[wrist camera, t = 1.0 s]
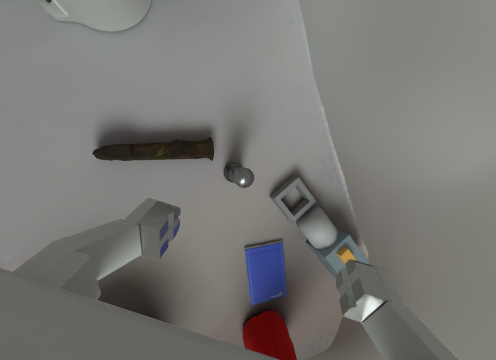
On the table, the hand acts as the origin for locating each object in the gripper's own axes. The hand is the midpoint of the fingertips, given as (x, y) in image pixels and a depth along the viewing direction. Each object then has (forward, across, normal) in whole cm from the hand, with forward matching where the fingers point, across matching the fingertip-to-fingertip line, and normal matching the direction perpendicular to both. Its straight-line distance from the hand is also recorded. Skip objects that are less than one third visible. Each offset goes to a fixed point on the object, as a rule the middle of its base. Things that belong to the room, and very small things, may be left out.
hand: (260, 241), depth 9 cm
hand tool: (+23, +19, +11) cm, 32 cm away
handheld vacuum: (+28, -14, +22) cm, 38 cm away
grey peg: (+26, +6, +13) cm, 30 cm away
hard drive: (+21, -6, +31) cm, 38 cm away
